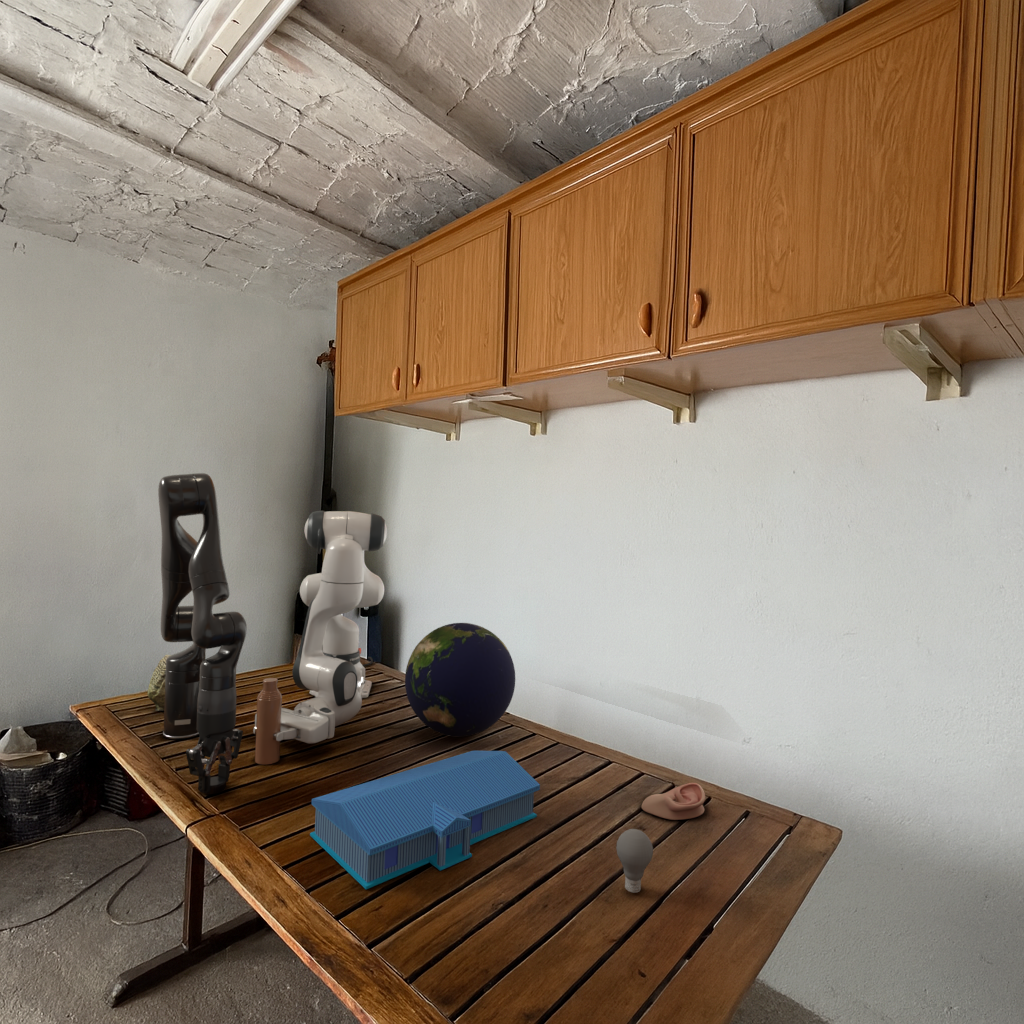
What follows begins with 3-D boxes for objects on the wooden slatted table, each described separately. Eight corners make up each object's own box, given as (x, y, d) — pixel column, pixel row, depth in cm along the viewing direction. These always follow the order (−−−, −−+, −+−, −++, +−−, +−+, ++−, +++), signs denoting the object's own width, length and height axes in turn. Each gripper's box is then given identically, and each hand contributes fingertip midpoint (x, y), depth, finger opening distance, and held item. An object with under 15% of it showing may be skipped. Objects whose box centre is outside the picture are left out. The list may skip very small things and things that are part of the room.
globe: (380, 741, 165) (385, 626, 164) (436, 708, 192) (440, 610, 192) (485, 764, 153) (490, 641, 153) (528, 725, 181) (533, 621, 181)
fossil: (144, 707, 182) (145, 655, 182) (212, 696, 194) (213, 647, 194) (151, 716, 175) (153, 662, 175) (221, 703, 188) (223, 653, 188)
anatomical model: (642, 796, 131) (642, 773, 142) (641, 815, 131) (641, 791, 142) (708, 805, 128) (703, 781, 140) (707, 825, 129) (702, 799, 140)
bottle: (281, 762, 150) (284, 681, 149) (256, 766, 147) (259, 684, 147) (278, 753, 155) (280, 675, 154) (253, 757, 152) (256, 677, 152)
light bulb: (610, 879, 108) (613, 822, 108) (644, 879, 109) (647, 822, 109) (619, 902, 102) (622, 840, 102) (655, 901, 103) (658, 840, 103)
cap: (217, 783, 137) (217, 774, 137) (230, 788, 135) (230, 779, 135) (197, 790, 133) (198, 781, 133) (211, 796, 131) (211, 787, 131)
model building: (376, 899, 100) (378, 836, 100) (308, 834, 119) (310, 781, 118) (548, 822, 127) (550, 773, 127) (472, 779, 145) (474, 735, 145)
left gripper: (205, 720, 126) (202, 805, 126) (255, 699, 140) (252, 776, 140) (175, 715, 128) (172, 798, 129) (227, 695, 142) (224, 770, 142)
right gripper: (281, 698, 167) (236, 712, 155) (339, 713, 157) (296, 730, 145) (280, 721, 167) (235, 737, 155) (338, 738, 157) (295, 757, 145)
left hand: (214, 786), depth 134 cm, fingers open, 4 cm apart
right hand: (265, 734), depth 150 cm, fingers closed on bottle, 5 cm apart
